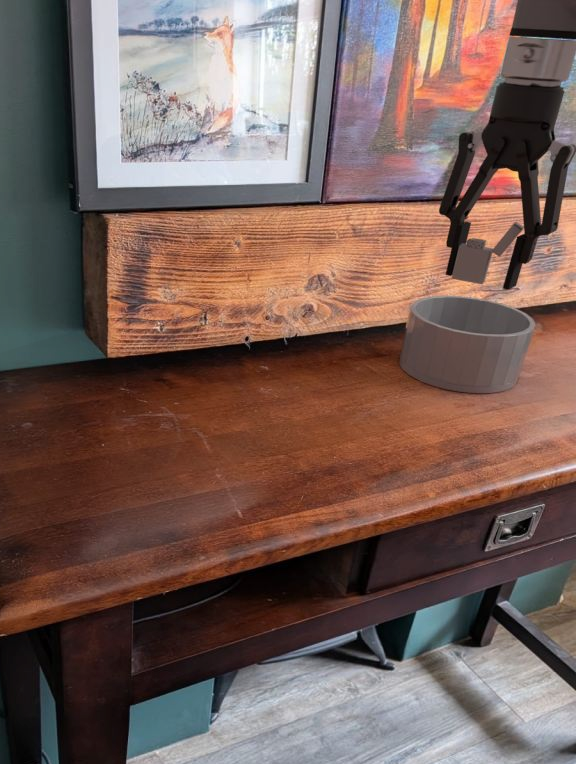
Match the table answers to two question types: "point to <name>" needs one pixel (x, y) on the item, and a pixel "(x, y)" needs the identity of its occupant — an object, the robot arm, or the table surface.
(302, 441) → the table surface
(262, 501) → the table surface
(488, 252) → the lighter
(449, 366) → the canister
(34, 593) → the table surface
